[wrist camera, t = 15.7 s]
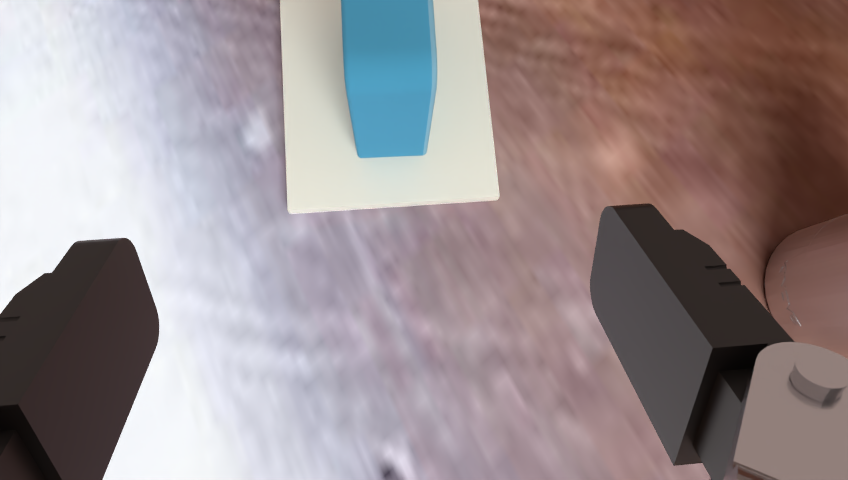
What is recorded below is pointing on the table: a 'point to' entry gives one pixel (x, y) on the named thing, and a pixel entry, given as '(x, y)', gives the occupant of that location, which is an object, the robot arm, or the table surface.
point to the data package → (390, 74)
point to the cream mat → (332, 128)
